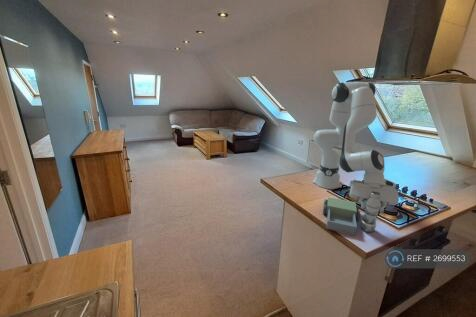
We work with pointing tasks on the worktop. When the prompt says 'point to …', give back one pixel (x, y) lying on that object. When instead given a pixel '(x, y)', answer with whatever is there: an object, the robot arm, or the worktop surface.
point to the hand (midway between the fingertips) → (372, 210)
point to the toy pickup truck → (341, 215)
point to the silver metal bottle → (371, 212)
